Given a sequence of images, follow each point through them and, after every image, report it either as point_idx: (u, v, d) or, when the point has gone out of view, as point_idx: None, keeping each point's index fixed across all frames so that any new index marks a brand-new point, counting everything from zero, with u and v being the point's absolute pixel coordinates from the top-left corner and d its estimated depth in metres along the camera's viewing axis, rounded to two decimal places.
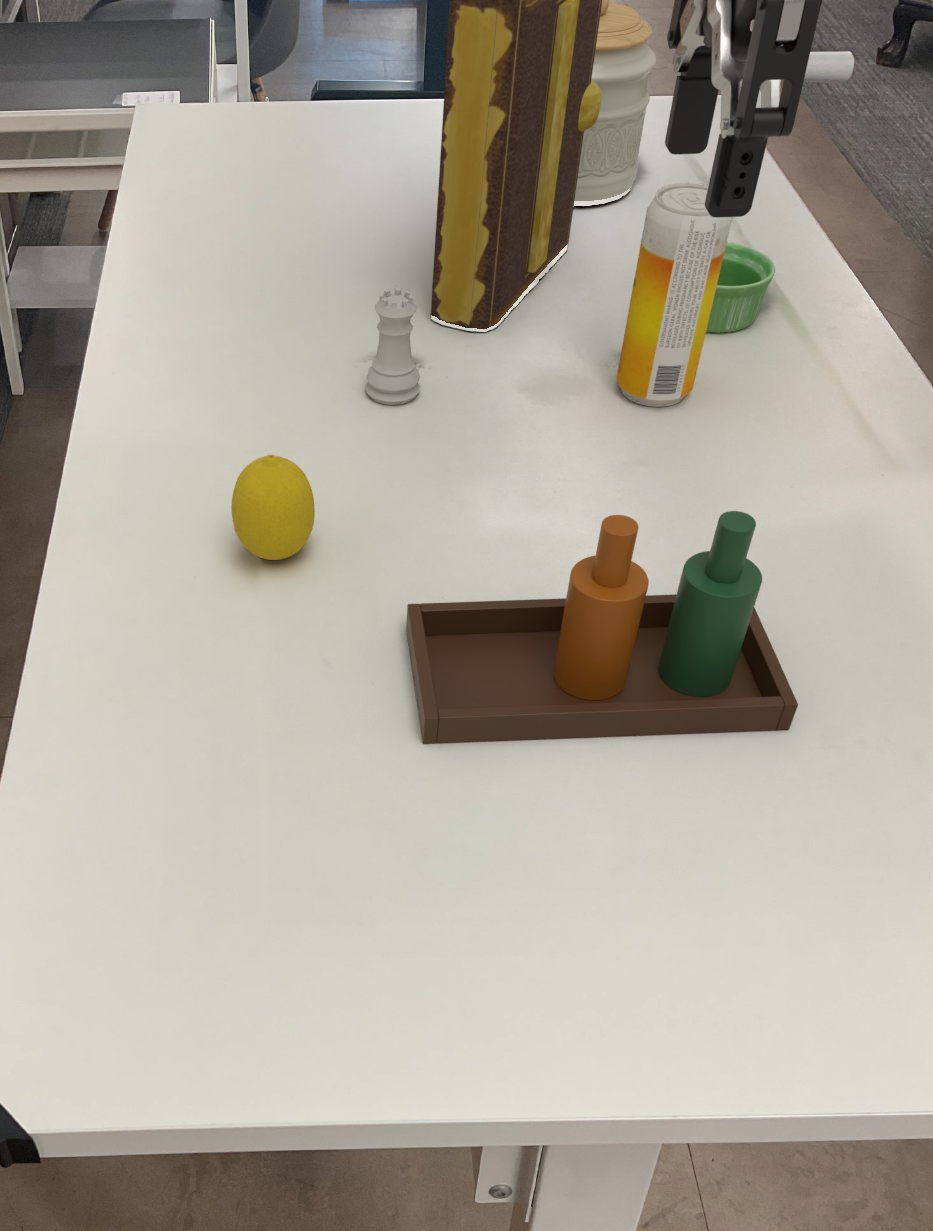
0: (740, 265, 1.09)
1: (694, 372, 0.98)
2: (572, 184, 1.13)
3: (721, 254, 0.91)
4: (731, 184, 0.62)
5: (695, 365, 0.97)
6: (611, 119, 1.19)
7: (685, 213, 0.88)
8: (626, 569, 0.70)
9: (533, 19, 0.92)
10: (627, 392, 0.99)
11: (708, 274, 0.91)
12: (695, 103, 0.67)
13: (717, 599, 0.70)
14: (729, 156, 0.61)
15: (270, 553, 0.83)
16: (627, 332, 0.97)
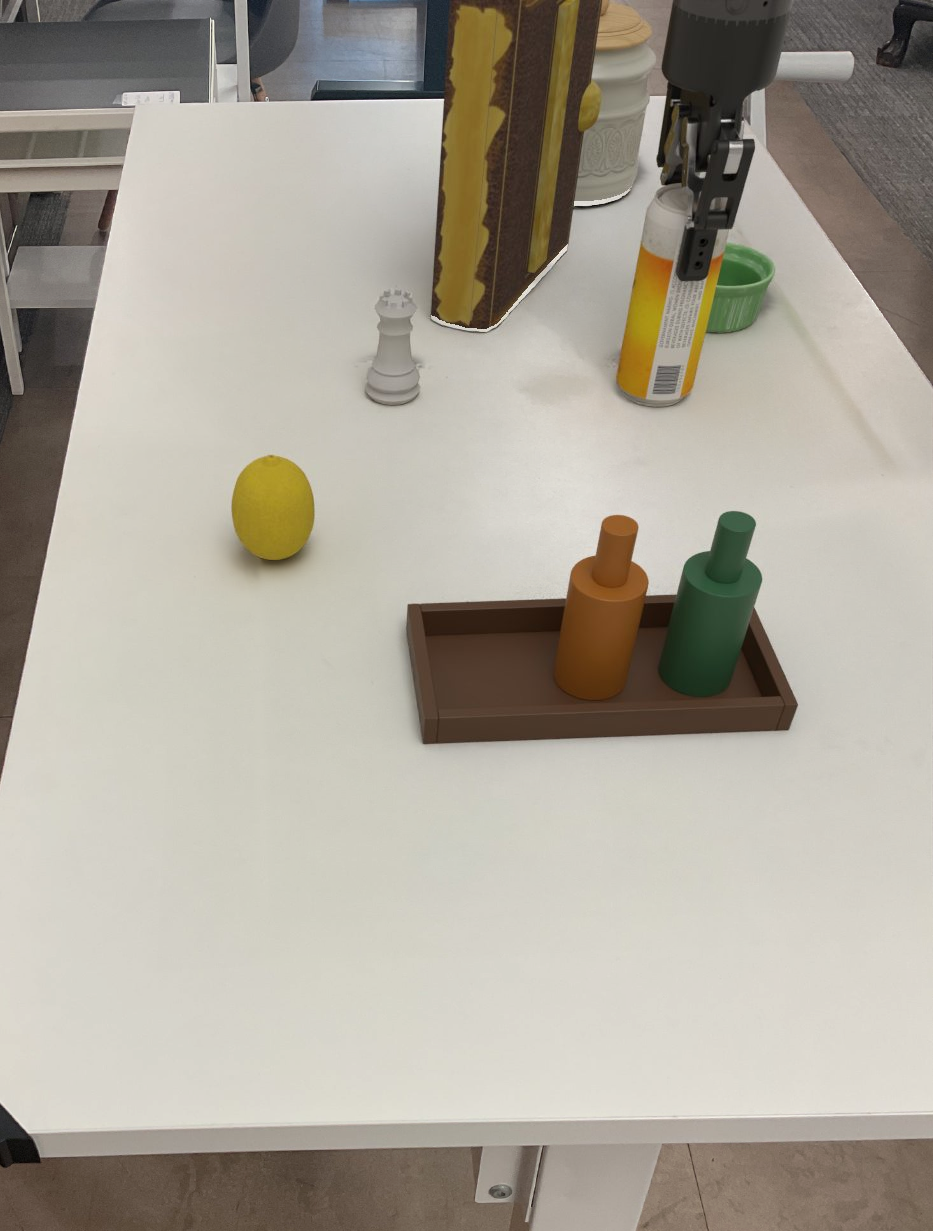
0: (740, 265, 1.09)
1: (694, 372, 0.98)
2: (572, 184, 1.13)
3: (721, 254, 0.91)
4: (693, 259, 0.89)
5: (695, 365, 0.97)
6: (611, 119, 1.19)
7: (685, 213, 0.88)
8: (626, 569, 0.70)
9: (533, 19, 0.92)
10: (627, 392, 0.99)
11: (708, 274, 0.91)
12: None
13: (717, 599, 0.70)
14: (691, 240, 0.88)
15: (270, 553, 0.83)
16: (627, 332, 0.97)
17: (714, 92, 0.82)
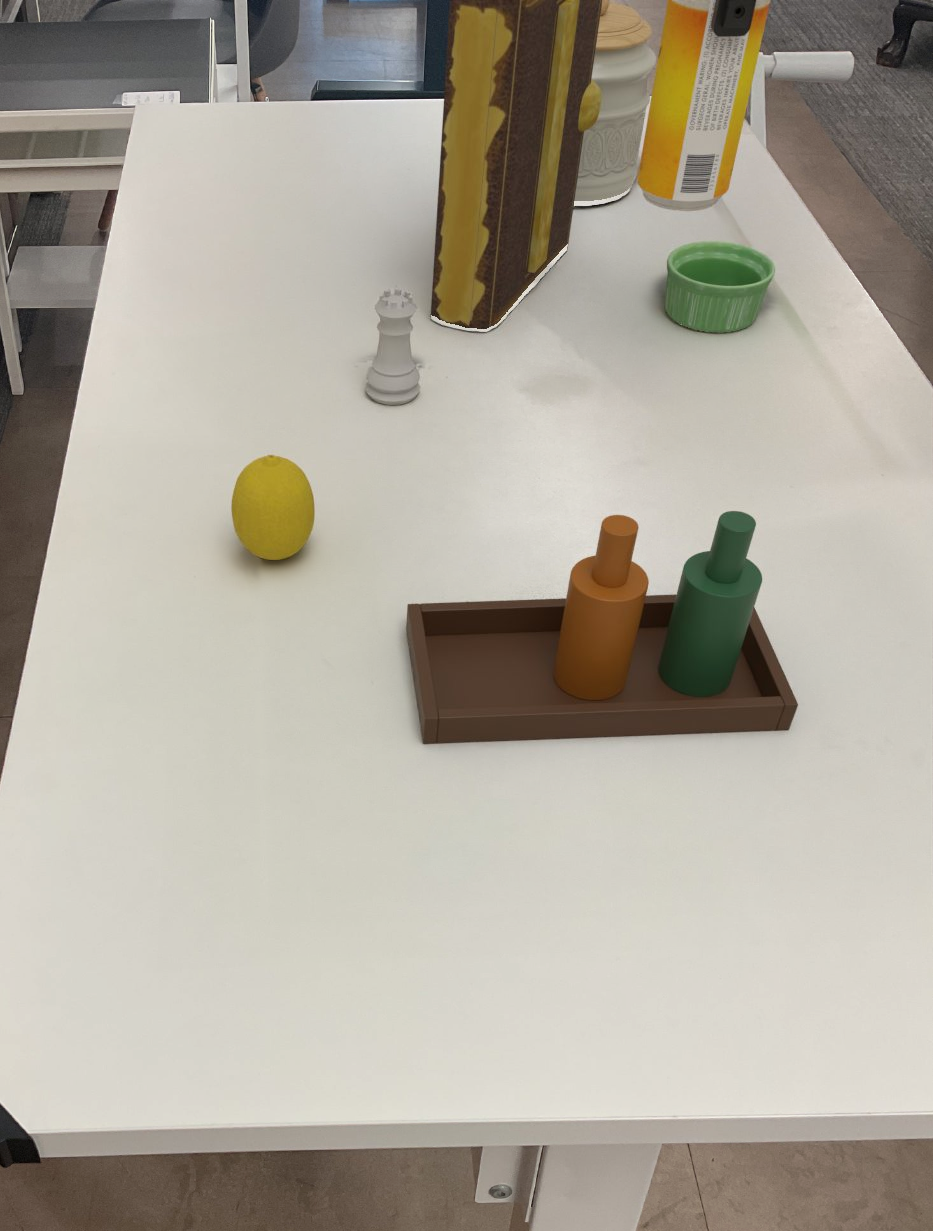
0: (740, 265, 1.09)
1: (730, 167, 0.82)
2: (572, 184, 1.13)
3: (765, 6, 0.75)
4: (733, 4, 0.73)
5: (731, 157, 0.82)
6: (611, 119, 1.19)
7: None
8: (626, 569, 0.70)
9: (533, 19, 0.92)
10: (650, 194, 0.84)
11: (750, 30, 0.76)
12: None
13: (717, 599, 0.70)
14: None
15: (270, 553, 0.83)
16: (651, 116, 0.81)
17: None
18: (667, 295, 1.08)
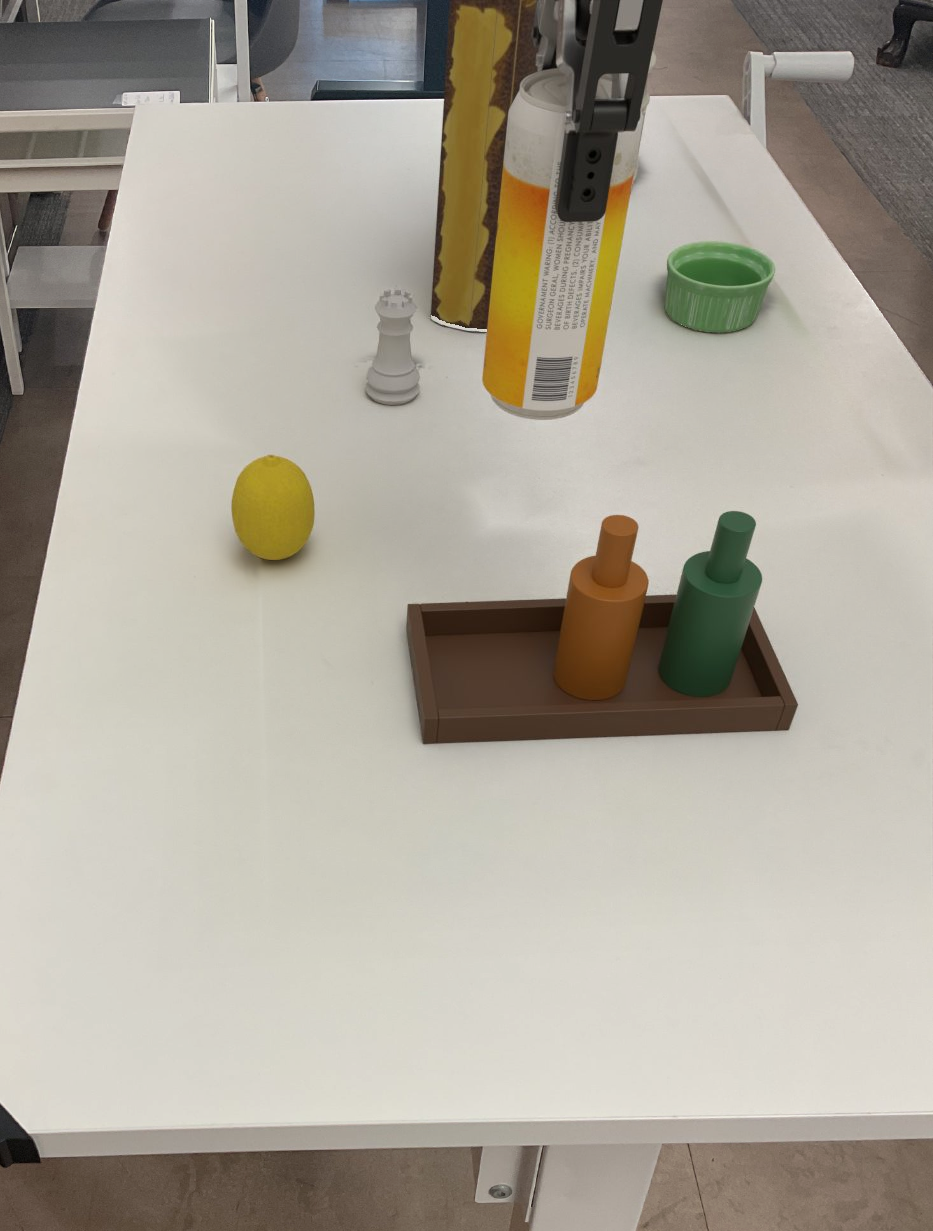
0: (740, 265, 1.09)
1: (595, 368, 0.64)
2: None
3: (626, 180, 0.57)
4: (579, 185, 0.55)
5: (596, 357, 0.64)
6: None
7: (563, 110, 0.55)
8: (626, 569, 0.70)
9: (533, 19, 0.92)
10: (496, 398, 0.66)
11: (606, 211, 0.58)
12: None
13: (717, 599, 0.70)
14: (575, 154, 0.55)
15: (270, 553, 0.83)
16: (491, 306, 0.63)
17: None
18: (667, 295, 1.08)
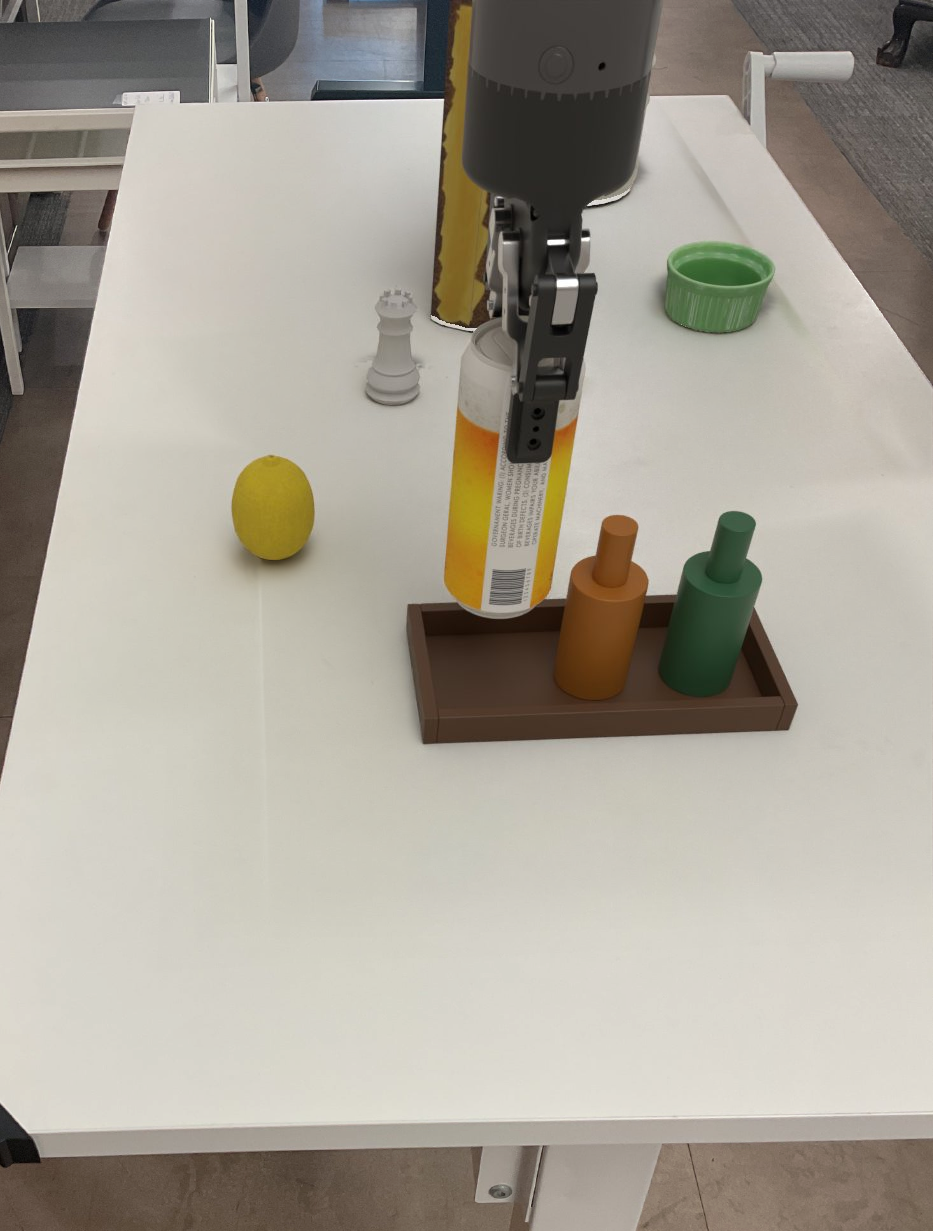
0: (740, 265, 1.09)
1: (548, 573, 0.69)
2: None
3: (571, 422, 0.62)
4: (525, 437, 0.59)
5: (548, 565, 0.68)
6: None
7: (510, 369, 0.59)
8: (626, 569, 0.70)
9: None
10: (456, 598, 0.70)
11: (553, 450, 0.62)
12: None
13: (717, 599, 0.70)
14: (521, 410, 0.59)
15: (270, 553, 0.83)
16: (450, 519, 0.68)
17: (533, 200, 0.52)
18: (667, 295, 1.08)
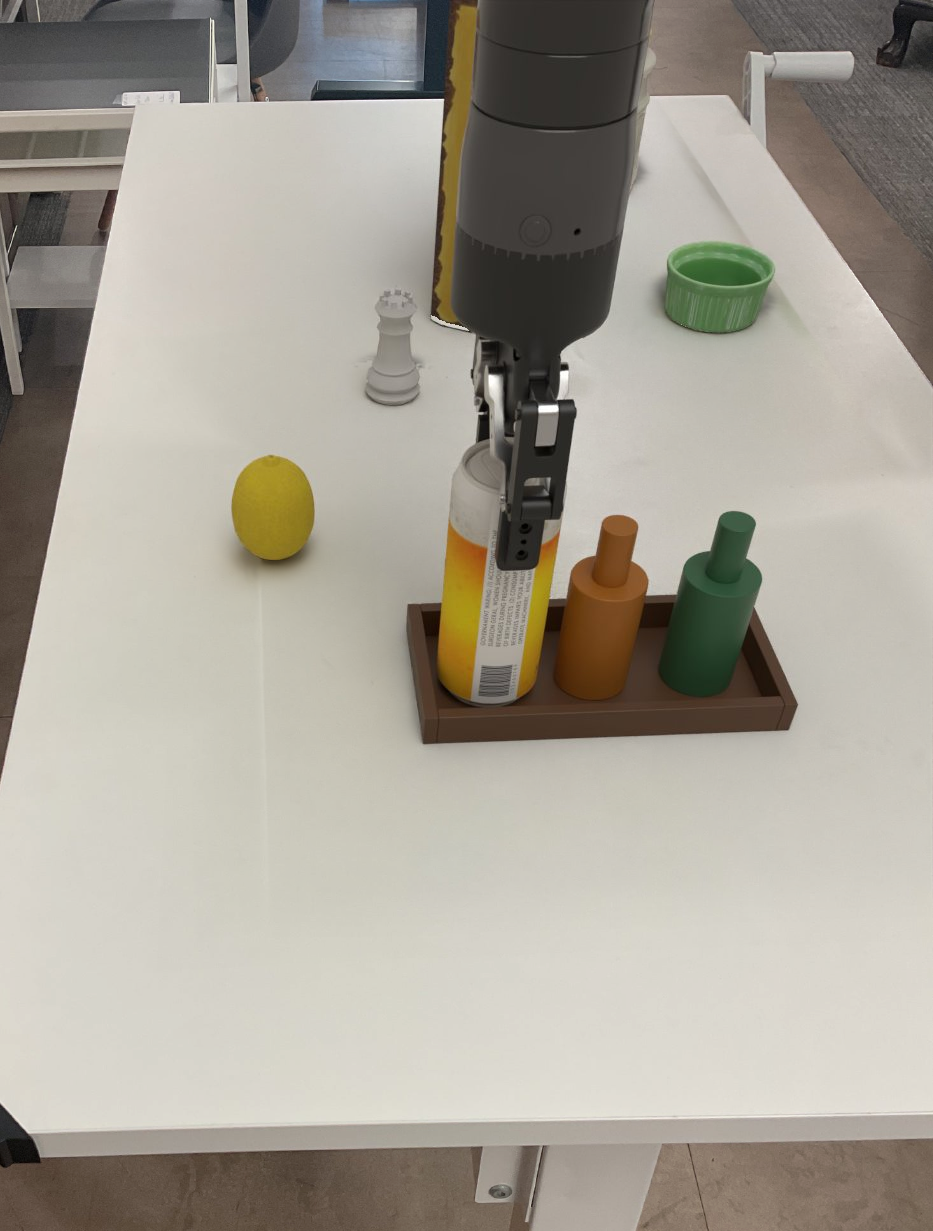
0: (740, 265, 1.09)
1: (533, 667, 0.74)
2: None
3: (554, 537, 0.67)
4: (514, 548, 0.63)
5: (533, 660, 0.73)
6: None
7: (497, 492, 0.64)
8: (626, 569, 0.70)
9: None
10: (447, 688, 0.75)
11: None
12: None
13: (717, 599, 0.70)
14: (510, 525, 0.63)
15: (270, 553, 0.83)
16: (442, 618, 0.73)
17: (516, 344, 0.57)
18: (667, 295, 1.08)
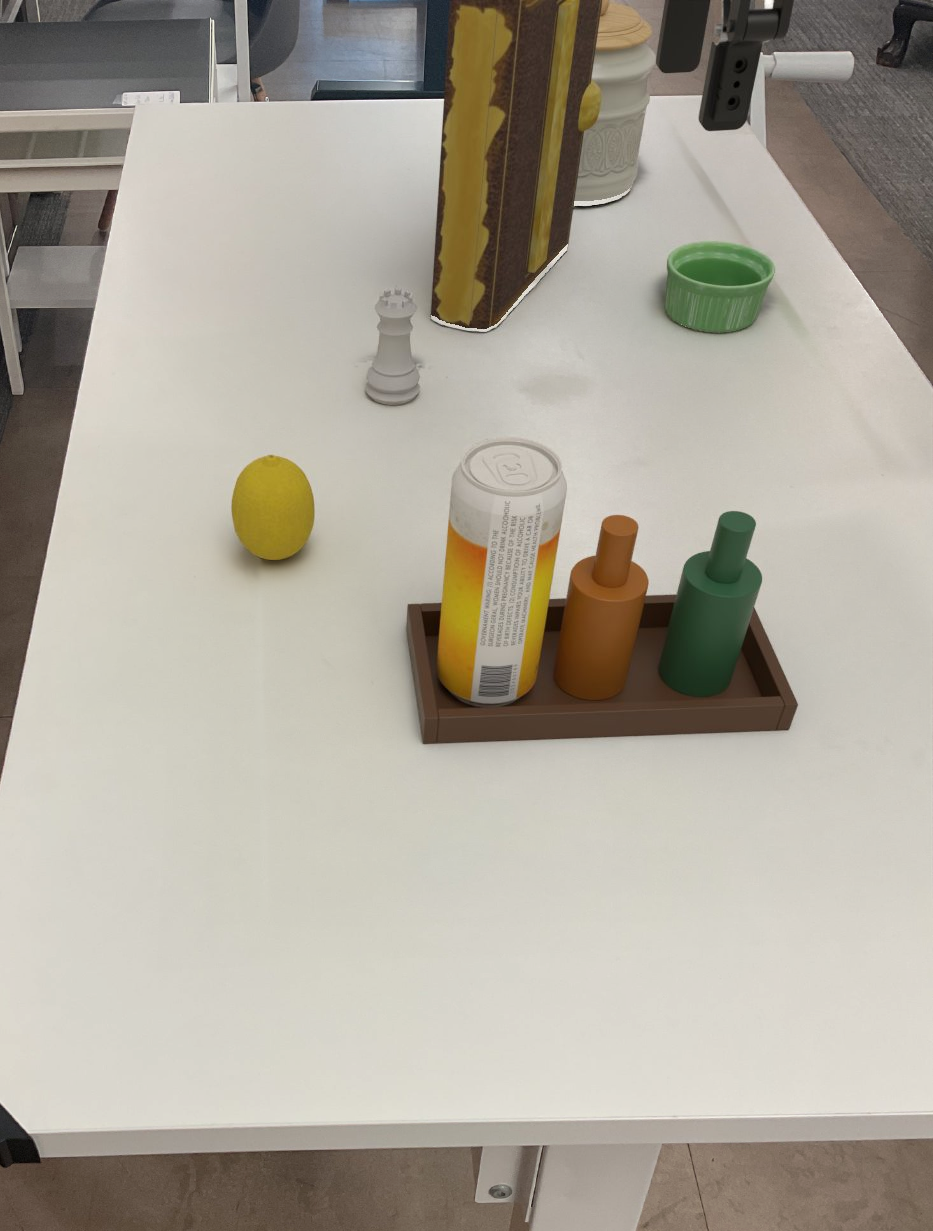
0: (740, 265, 1.09)
1: (533, 667, 0.74)
2: (572, 184, 1.13)
3: (554, 537, 0.67)
4: (725, 94, 0.60)
5: (533, 660, 0.73)
6: (611, 119, 1.19)
7: (497, 492, 0.64)
8: (626, 569, 0.70)
9: (533, 19, 0.92)
10: (448, 688, 0.75)
11: (537, 562, 0.67)
12: (686, 18, 0.65)
13: (717, 599, 0.70)
14: (722, 65, 0.59)
15: (270, 553, 0.83)
16: (442, 618, 0.73)
17: None
18: (667, 295, 1.08)
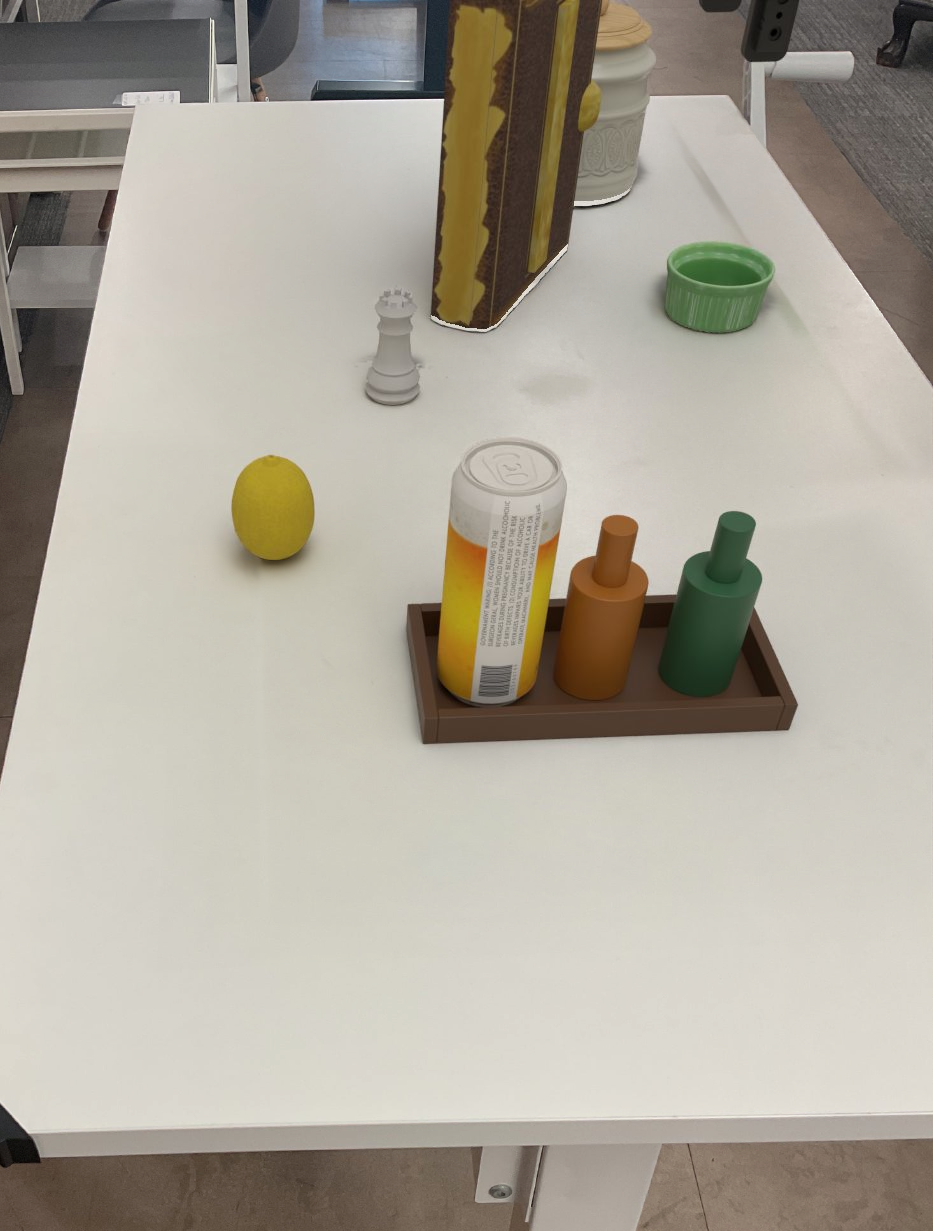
0: (740, 265, 1.09)
1: (533, 667, 0.74)
2: (572, 184, 1.13)
3: (554, 537, 0.67)
4: (768, 25, 0.62)
5: (533, 660, 0.73)
6: (611, 119, 1.19)
7: (497, 492, 0.64)
8: (626, 569, 0.70)
9: (533, 19, 0.92)
10: (448, 688, 0.75)
11: (537, 562, 0.67)
12: None
13: (717, 599, 0.70)
14: None
15: (270, 553, 0.83)
16: (442, 618, 0.73)
17: None
18: (667, 295, 1.08)
